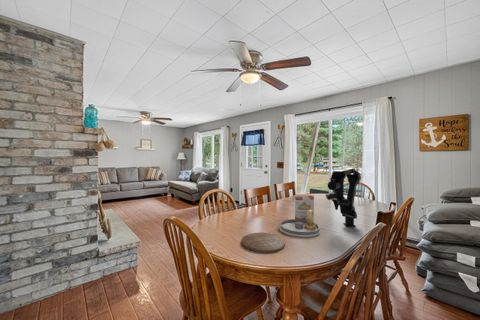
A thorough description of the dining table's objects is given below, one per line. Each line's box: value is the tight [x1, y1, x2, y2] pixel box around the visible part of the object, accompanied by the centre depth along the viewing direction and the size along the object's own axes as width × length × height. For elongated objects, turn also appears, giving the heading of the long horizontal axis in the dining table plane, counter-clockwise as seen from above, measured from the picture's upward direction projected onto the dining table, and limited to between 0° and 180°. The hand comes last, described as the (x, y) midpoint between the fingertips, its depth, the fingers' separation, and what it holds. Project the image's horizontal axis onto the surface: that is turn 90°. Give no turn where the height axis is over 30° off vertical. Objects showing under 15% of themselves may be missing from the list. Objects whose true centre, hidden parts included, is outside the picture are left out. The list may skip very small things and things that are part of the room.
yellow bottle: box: [305, 210, 316, 230], centre depth 140 cm, size 7×7×12 cm
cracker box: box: [294, 193, 315, 223], centre depth 159 cm, size 14×6×21 cm, turn 73°
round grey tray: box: [278, 218, 321, 238], centre depth 141 cm, size 27×27×4 cm
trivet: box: [241, 232, 286, 254], centre depth 118 cm, size 25×25×2 cm
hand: (338, 211), depth 138 cm, fingers open, 9 cm apart
